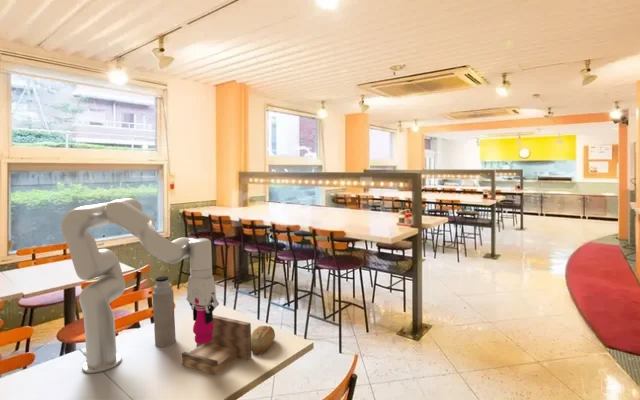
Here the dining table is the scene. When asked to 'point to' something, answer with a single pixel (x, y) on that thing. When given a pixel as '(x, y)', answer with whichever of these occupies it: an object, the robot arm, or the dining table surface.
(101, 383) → the dining table surface
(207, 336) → the pepper mill
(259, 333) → the bread roll
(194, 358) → the wall shelf
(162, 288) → the thermos bottle
